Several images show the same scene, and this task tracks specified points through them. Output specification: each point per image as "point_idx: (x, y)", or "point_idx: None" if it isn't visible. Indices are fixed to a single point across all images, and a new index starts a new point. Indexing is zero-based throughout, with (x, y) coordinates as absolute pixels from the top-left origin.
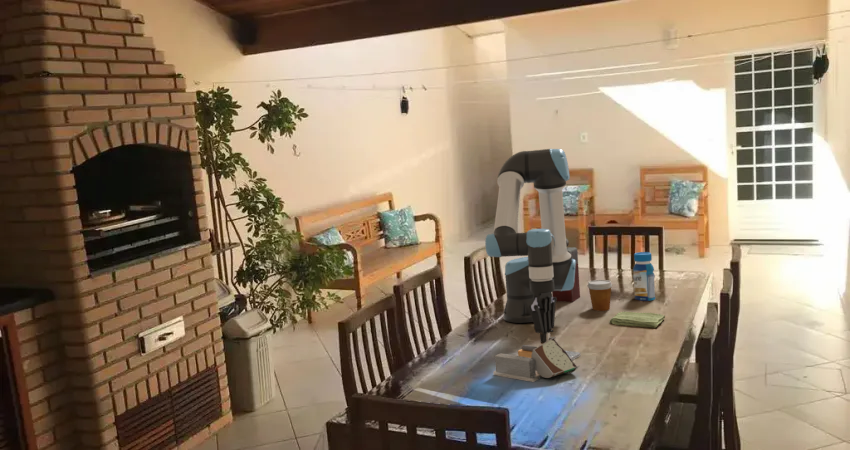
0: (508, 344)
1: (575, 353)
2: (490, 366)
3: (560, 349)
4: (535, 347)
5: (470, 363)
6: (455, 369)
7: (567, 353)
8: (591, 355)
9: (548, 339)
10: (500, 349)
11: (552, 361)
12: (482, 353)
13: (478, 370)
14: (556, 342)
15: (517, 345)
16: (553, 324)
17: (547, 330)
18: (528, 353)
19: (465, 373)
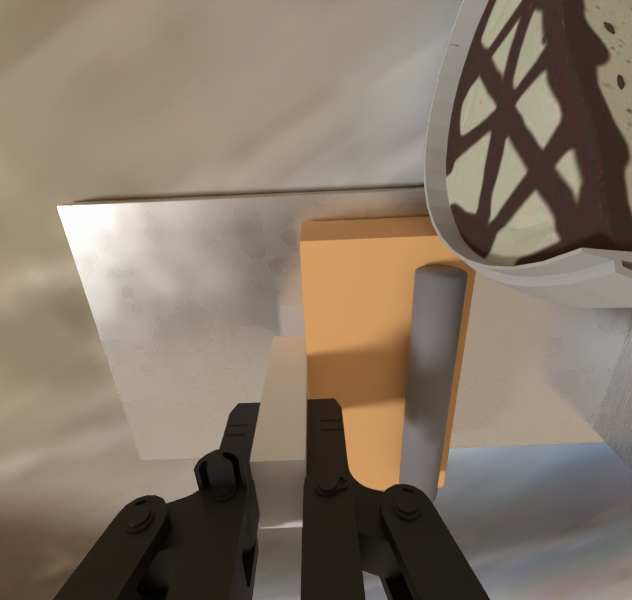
0: None
1: (101, 227)
2: (502, 496)
3: (615, 84)
4: (443, 413)
5: (489, 567)
6: (583, 568)
7: (139, 278)
8: (5, 130)
9: (630, 306)
10: (260, 576)
11: None
12: None
13: (573, 504)
14: (610, 178)
15: None
16: (115, 546)
17: (251, 505)
18: (451, 417)
19: (627, 521)
